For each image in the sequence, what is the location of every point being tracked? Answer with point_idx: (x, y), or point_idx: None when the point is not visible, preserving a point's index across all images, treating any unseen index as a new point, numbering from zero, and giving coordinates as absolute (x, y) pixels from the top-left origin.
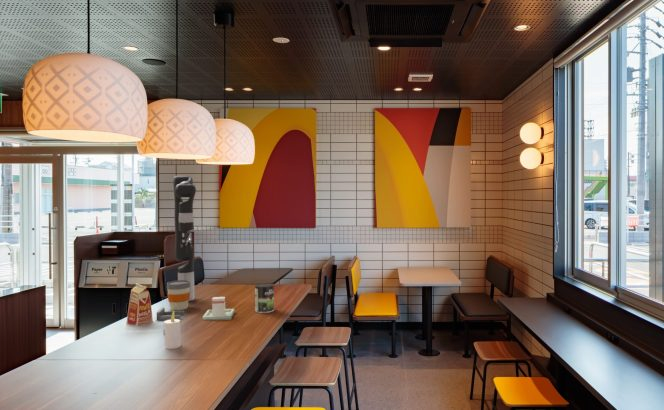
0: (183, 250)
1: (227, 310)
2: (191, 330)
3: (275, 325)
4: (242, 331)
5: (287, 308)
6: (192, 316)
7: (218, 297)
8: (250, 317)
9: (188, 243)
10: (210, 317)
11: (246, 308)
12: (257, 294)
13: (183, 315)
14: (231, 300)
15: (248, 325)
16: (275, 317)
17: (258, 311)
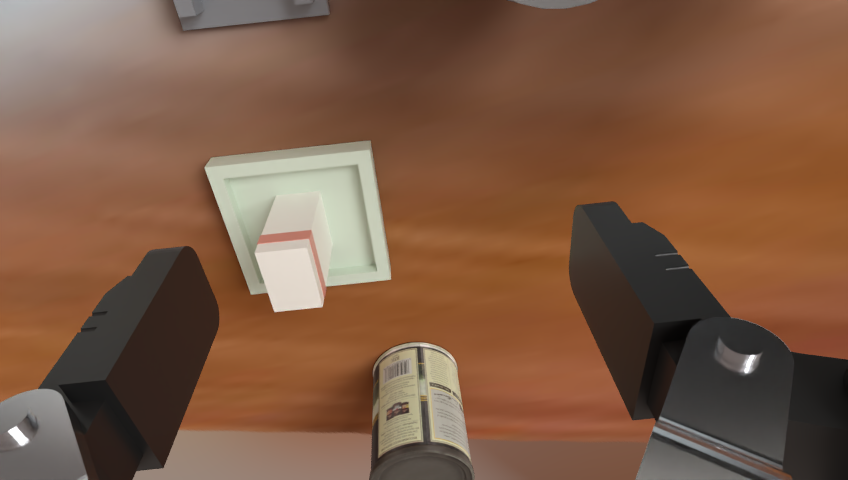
0: (108, 309)
1: (373, 249)
2: (29, 154)
3: (205, 430)
4: None
5: None
6: (300, 64)
7: (299, 278)
8: (304, 343)
9: (656, 384)
10: (220, 205)
11: (466, 300)
12: (381, 427)
13: (287, 2)
14: (671, 191)
15: None
16: (311, 416)
17: (379, 362)
